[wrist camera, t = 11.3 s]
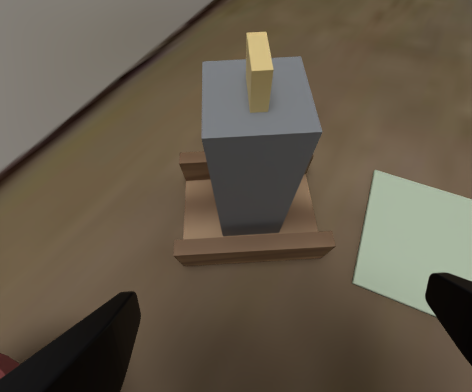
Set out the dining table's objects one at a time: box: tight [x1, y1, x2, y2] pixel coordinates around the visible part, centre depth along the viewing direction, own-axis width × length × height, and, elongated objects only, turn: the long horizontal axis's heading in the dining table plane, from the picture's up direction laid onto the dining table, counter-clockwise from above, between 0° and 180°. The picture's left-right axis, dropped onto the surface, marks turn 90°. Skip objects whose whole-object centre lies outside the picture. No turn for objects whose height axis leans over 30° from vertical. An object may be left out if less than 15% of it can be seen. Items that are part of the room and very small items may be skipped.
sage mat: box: [352, 170, 472, 317], centre depth 22 cm, size 12×9×1 cm
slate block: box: [202, 32, 322, 236], centre depth 16 cm, size 5×5×15 cm
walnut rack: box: [173, 151, 336, 266], centre depth 22 cm, size 9×12×4 cm
